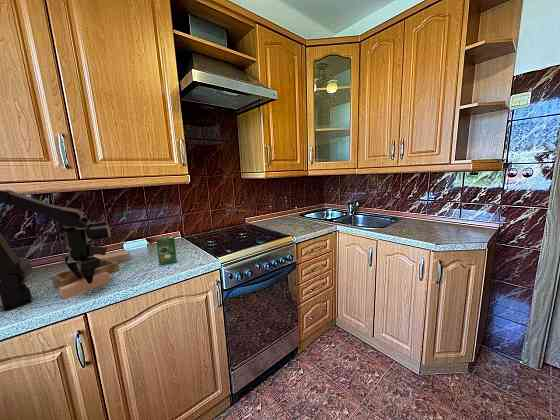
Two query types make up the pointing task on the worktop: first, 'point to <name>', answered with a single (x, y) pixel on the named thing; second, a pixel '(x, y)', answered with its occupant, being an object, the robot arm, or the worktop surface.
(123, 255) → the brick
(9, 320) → the worktop surface
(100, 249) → the robot arm
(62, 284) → the wooden open tray
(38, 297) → the worktop surface
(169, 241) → the coffee box
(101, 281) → the clay strip
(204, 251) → the worktop surface
